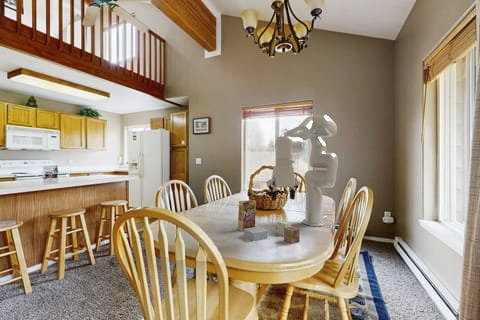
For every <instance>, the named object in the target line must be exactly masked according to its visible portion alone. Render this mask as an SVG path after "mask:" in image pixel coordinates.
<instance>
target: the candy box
mask: <svg viewBox="0 0 480 320" xmlns="http://www.w3.org/2000/svg"><path fill="white" fill-rule="evenodd" d="M256 211H257V200H254V199H249V200H239V201H238V212H237V213H238V214H237V215H238V217H237V218H238V219H237V230H238V231H240V232H244V229H247V228H252V227H256V215H257V212H256Z"/></svg>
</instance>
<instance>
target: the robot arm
mask: <svg viewBox="0 0 480 320" xmlns="http://www.w3.org/2000/svg"><path fill="white" fill-rule="evenodd" d="M337 133H338V126H337V124H336V123H335V122H334V121H333V119H332V118H330V117H329V116H328V115H325V114H321V115H313V116H308V117H306V118H304V120H303V121H302V122H301V123H300V124H299V125H298V126H297V127H294V128H291V129H289V130H287V131H285V132H283V133H282V134H281V135H279V136H278V137H277V138H276V140H275V142H274V143H275V144H274V148H275V165H274V166H273V169H272V175H271V178H270V179H268V180H266V182H265V183H266V185H267V188H268V189H269V191H270V192H271V193H270V198H271V200H272V201H276V200H277V191H276V190H277V189H278V188H289V189H290V190H289V199H290V200H293V201H294V200H295V197H296V192H297V189H298V188H299V186H300V184H301V182H300V180H299V179H296V178H295V177H296V176H295V168H294V166H293V164H295V161H294V160H293V154H299V153H301V152H303V151H304V149H305V147H306V146H305V145H306V144H305V141H306V140H310V144H311V149H310V156H309V166H310V168H313V169H311V170H307V171H306V172H305V173H304V176H303V177H304V179H303V180H304V184H305V185H304V186H305V207H304V208H305V212H304V213H305V214H304V215H305V217H304V219H302V224H304V225H306V226H310V227H323V226H325V225H326V223H325V221H324V220H327V219H328V216H327V215H323V199H324V198H323V191H322V190H321V188H328V189H329V188H334V187H335V185H336V182H337V175H338V166H339V158H338V156H337V154H336V153H333V152H327V145H326V144H327V143H326V142H325V141H324V140H323V139H322V138H333V137H335V136H336V135H337ZM316 169H317V170H316Z"/></svg>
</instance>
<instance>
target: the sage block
mask: <svg viewBox="0 0 480 320" xmlns="http://www.w3.org/2000/svg"><path fill="white" fill-rule="evenodd" d="M276 225H277V226H276V234H277V235H280V236H283V235H284V228H286V227H292V222H291V221H287V220H284V219H282V220H279V221H277V222H276Z"/></svg>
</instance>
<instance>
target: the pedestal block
mask: <svg viewBox="0 0 480 320" xmlns="http://www.w3.org/2000/svg"><path fill="white" fill-rule="evenodd" d="M243 237H244V238H246V239H248V240H250V241H252V242H253V241H255V242H258V241H263V240H267V239H268V230H266V229H264V228H263V227H262V228H261V227H260V226H255V227H252V228H247V229H244V231H243Z"/></svg>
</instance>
